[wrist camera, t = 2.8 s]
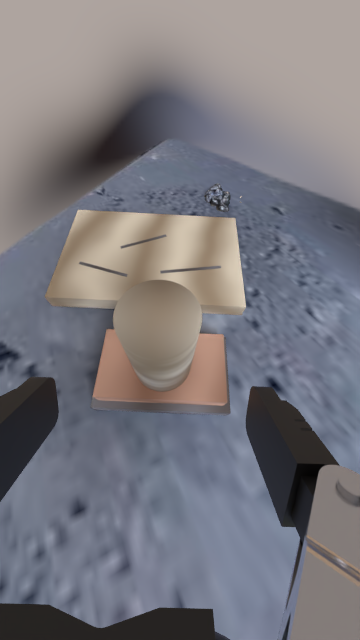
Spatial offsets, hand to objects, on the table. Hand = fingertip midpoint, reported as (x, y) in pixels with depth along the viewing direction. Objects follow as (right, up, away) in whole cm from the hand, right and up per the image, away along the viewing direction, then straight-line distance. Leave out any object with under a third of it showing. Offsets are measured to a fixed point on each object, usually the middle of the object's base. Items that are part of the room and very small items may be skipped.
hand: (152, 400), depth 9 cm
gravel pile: (+7, +19, +22) cm, 30 cm away
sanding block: (0, -1, +10) cm, 10 cm away
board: (-2, +9, +15) cm, 18 cm away
